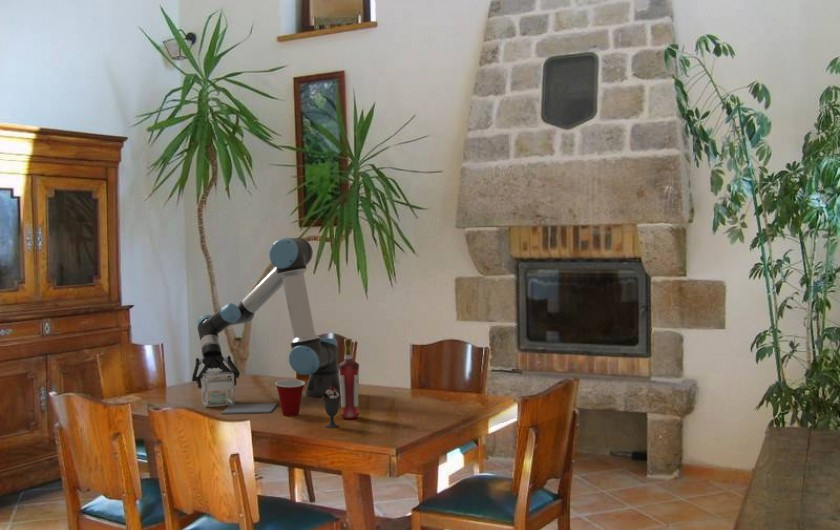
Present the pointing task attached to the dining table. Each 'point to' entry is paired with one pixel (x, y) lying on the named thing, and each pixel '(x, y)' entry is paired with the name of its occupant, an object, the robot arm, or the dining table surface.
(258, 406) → the mat
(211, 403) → the soap bar
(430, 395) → the dining table surface
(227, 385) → the clear glass cube
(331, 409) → the sundae
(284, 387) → the plastic cup
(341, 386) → the liquor
